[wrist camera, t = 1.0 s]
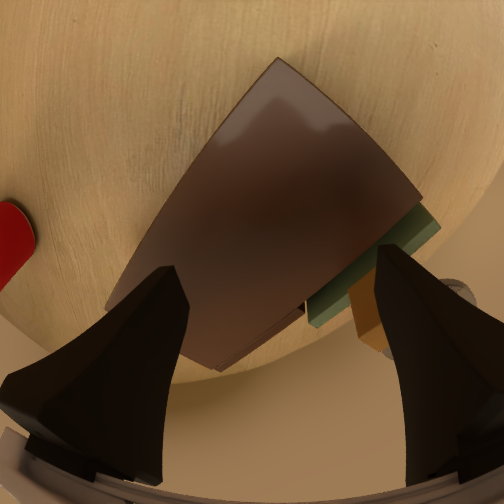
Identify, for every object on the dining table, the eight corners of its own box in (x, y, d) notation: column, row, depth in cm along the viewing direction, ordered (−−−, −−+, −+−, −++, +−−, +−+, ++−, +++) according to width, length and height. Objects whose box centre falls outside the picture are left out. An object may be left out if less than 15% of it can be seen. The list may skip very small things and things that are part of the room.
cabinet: (384, 160, 16) (430, 207, 11) (231, 306, 24) (219, 374, 19) (276, 63, 14) (277, 56, 8) (140, 248, 22) (103, 309, 16)
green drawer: (399, 181, 17) (478, 278, 9) (314, 260, 21) (330, 381, 13) (384, 164, 16) (465, 256, 8) (298, 247, 20) (306, 371, 12)
